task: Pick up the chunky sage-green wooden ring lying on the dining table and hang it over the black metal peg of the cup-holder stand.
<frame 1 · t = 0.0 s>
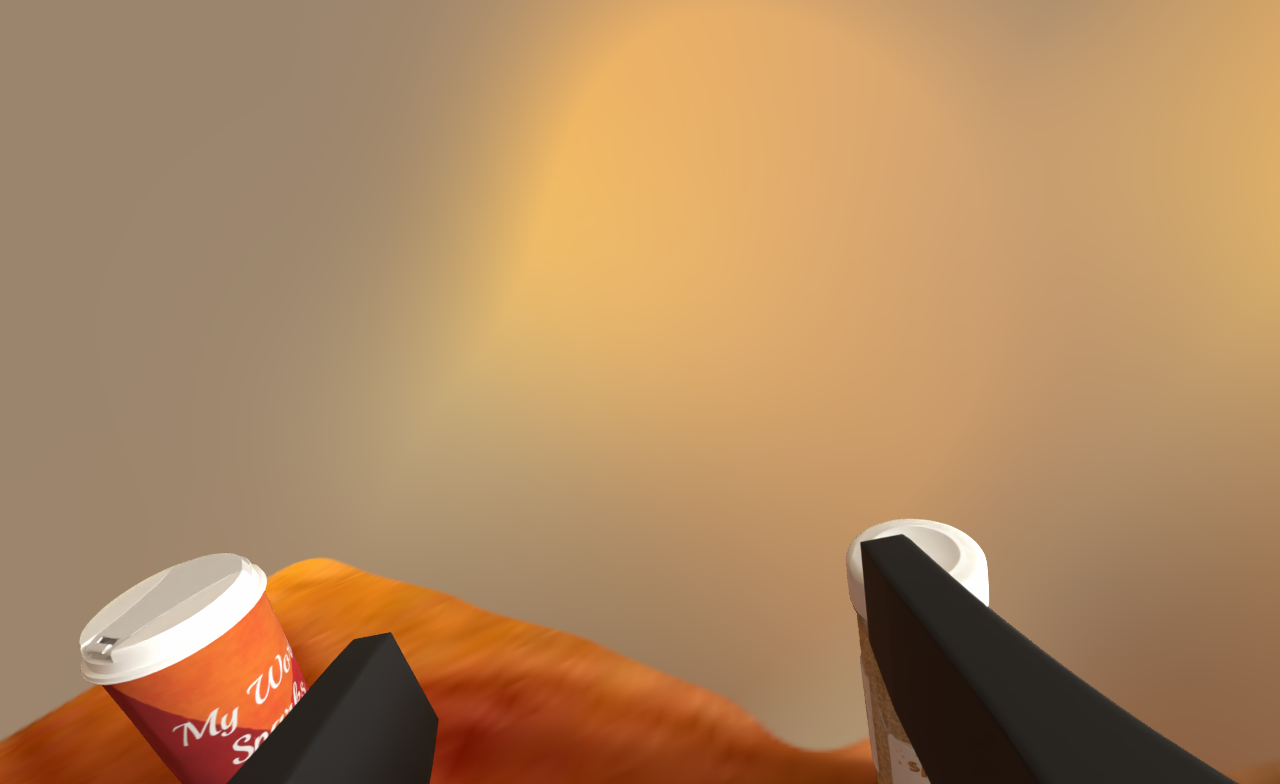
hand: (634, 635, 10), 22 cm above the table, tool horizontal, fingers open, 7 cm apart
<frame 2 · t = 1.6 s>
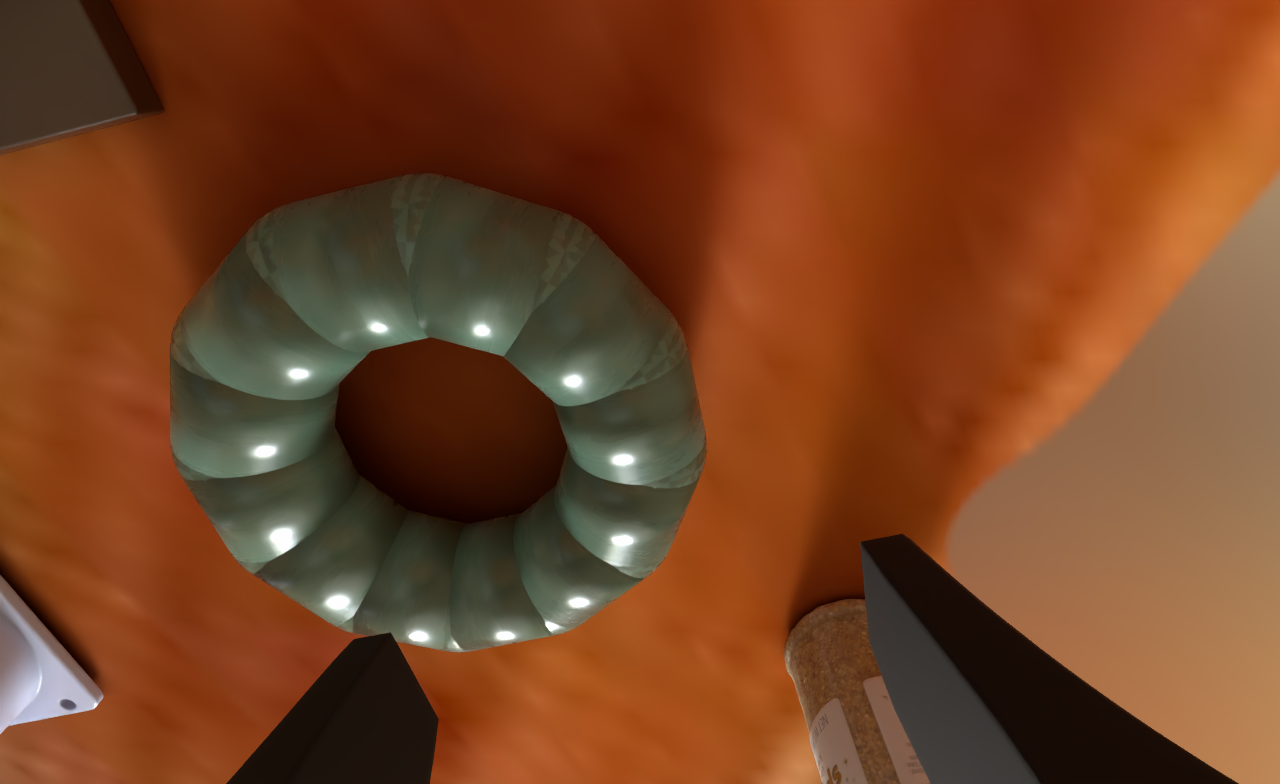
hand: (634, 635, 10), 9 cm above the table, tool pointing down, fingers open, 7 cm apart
sprinkles bottle: (843, 636, 23), on the table
ring: (450, 442, 17), point 2 cm above the table
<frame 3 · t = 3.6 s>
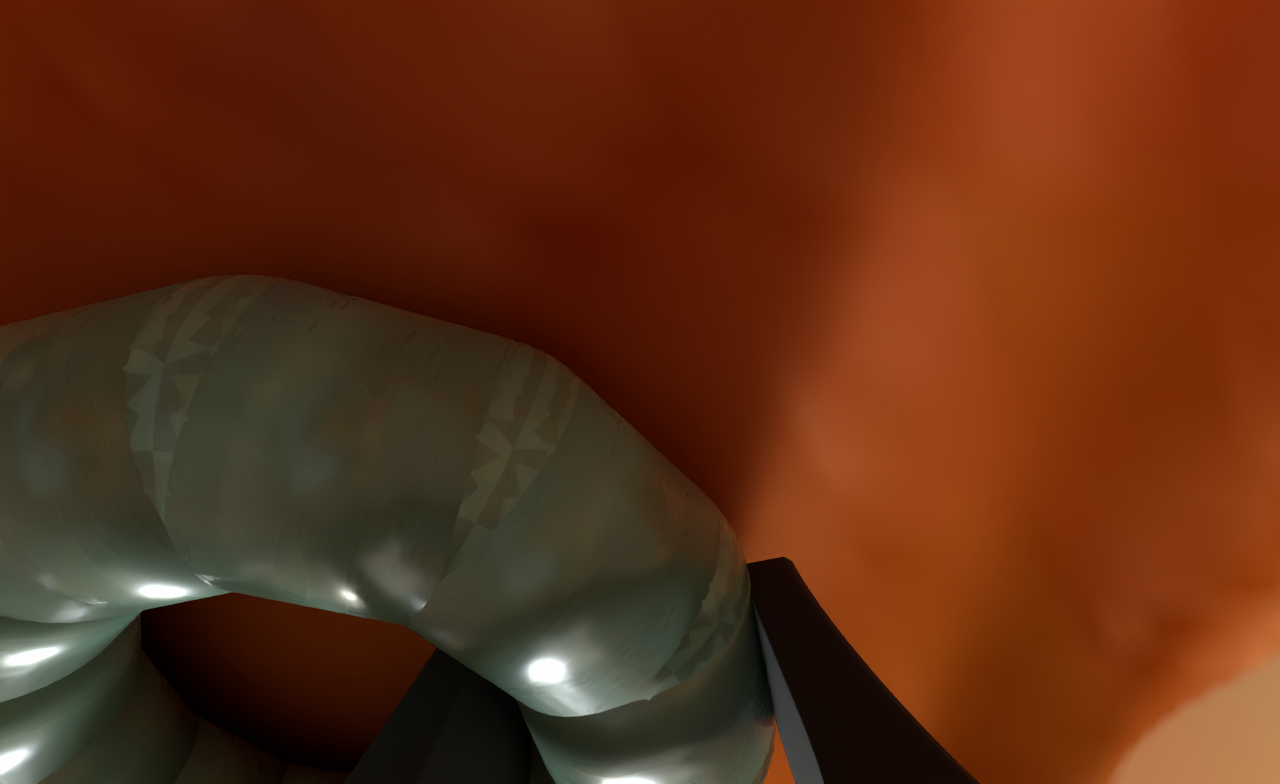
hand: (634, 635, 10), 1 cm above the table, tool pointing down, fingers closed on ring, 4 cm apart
ring: (331, 713, 10), point 2 cm above the table, touching gripper
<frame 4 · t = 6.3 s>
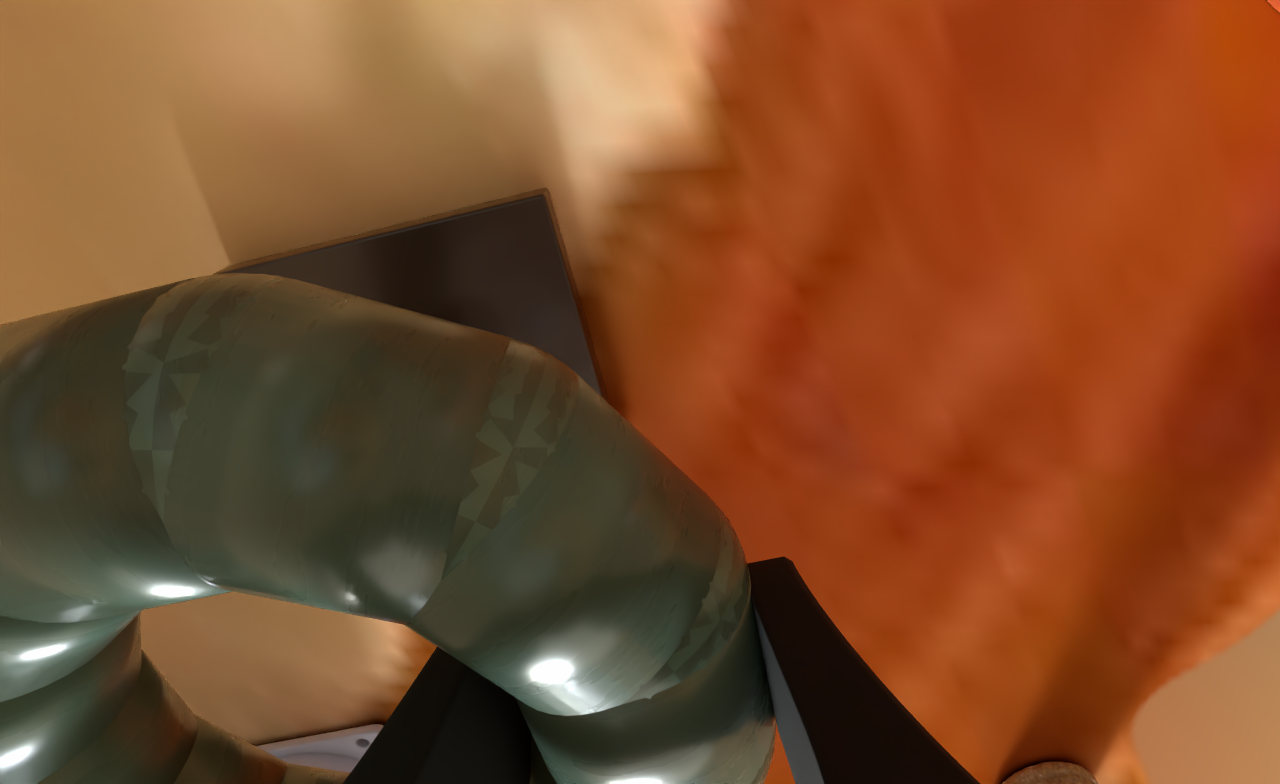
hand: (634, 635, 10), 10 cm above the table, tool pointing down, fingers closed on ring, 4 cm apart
holder: (445, 375, 19), on the table
ring: (331, 712, 10), point 11 cm above the table, touching gripper
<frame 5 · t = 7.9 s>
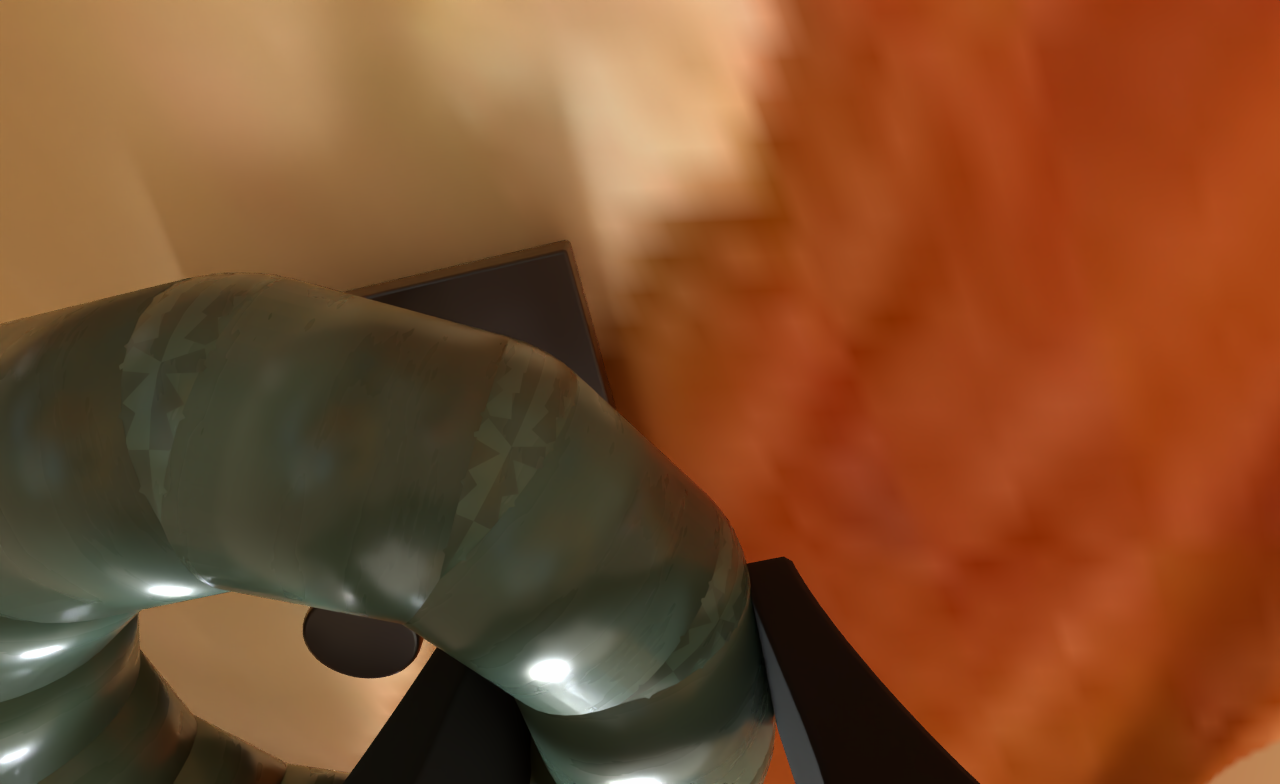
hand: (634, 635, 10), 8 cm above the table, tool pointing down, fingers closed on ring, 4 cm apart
holder: (449, 444, 17), on the table
ring: (330, 713, 10), point 8 cm above the table, touching gripper
when the fingers open (5 cm above the table, at t = 9.1 s): ring drops 3 cm, resting on holder.
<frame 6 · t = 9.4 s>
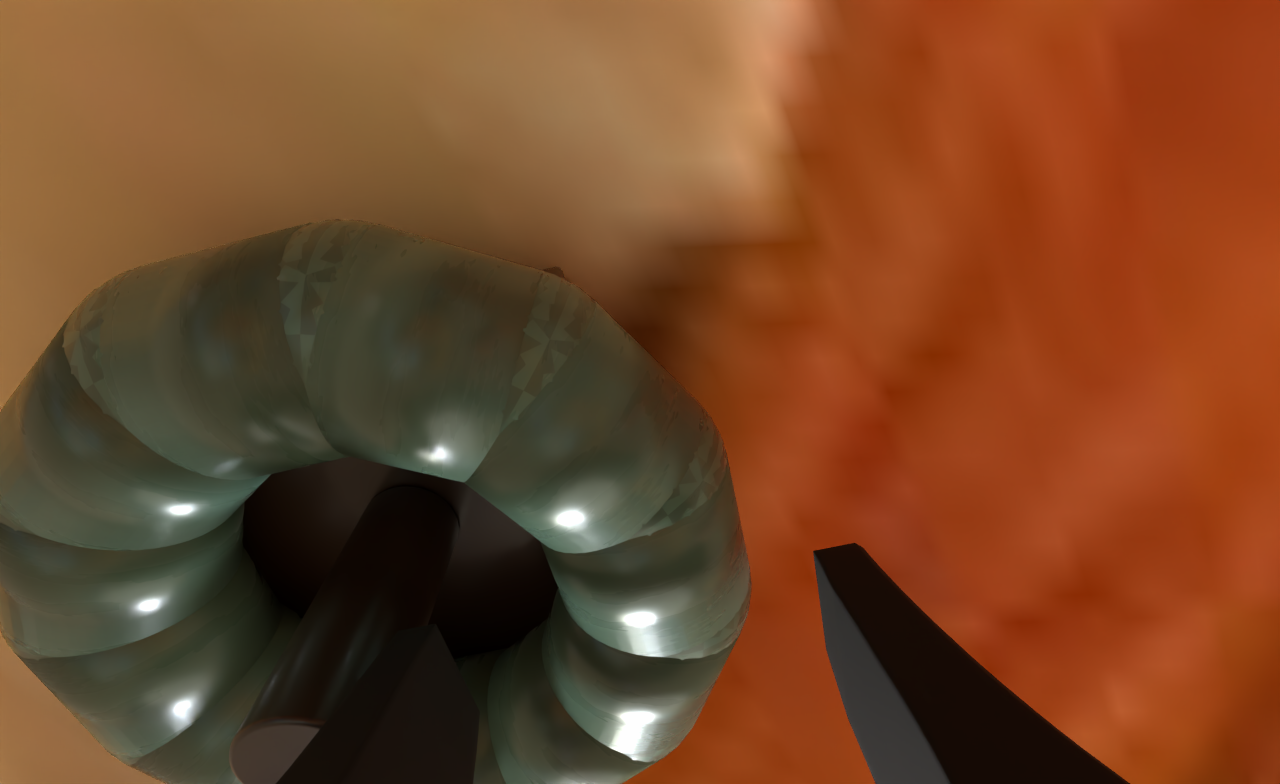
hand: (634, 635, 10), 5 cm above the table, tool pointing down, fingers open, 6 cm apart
holder: (425, 495, 15), on the table
ring: (397, 580, 12), point 3 cm above the table, touching holder
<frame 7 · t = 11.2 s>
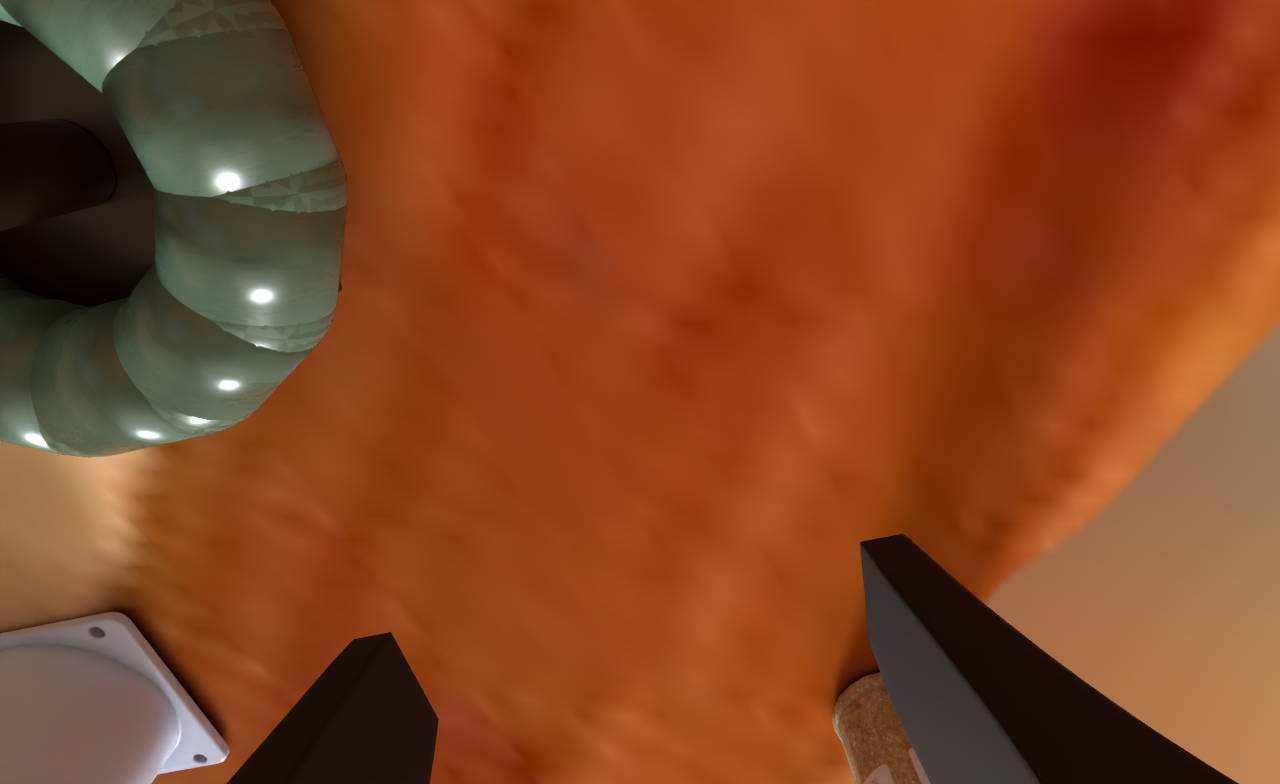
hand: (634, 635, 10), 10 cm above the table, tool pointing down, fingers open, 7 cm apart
holder: (101, 159, 16), on the table
sprinkles bottle: (883, 699, 26), on the table
ring: (18, 173, 14), point 3 cm above the table, touching holder
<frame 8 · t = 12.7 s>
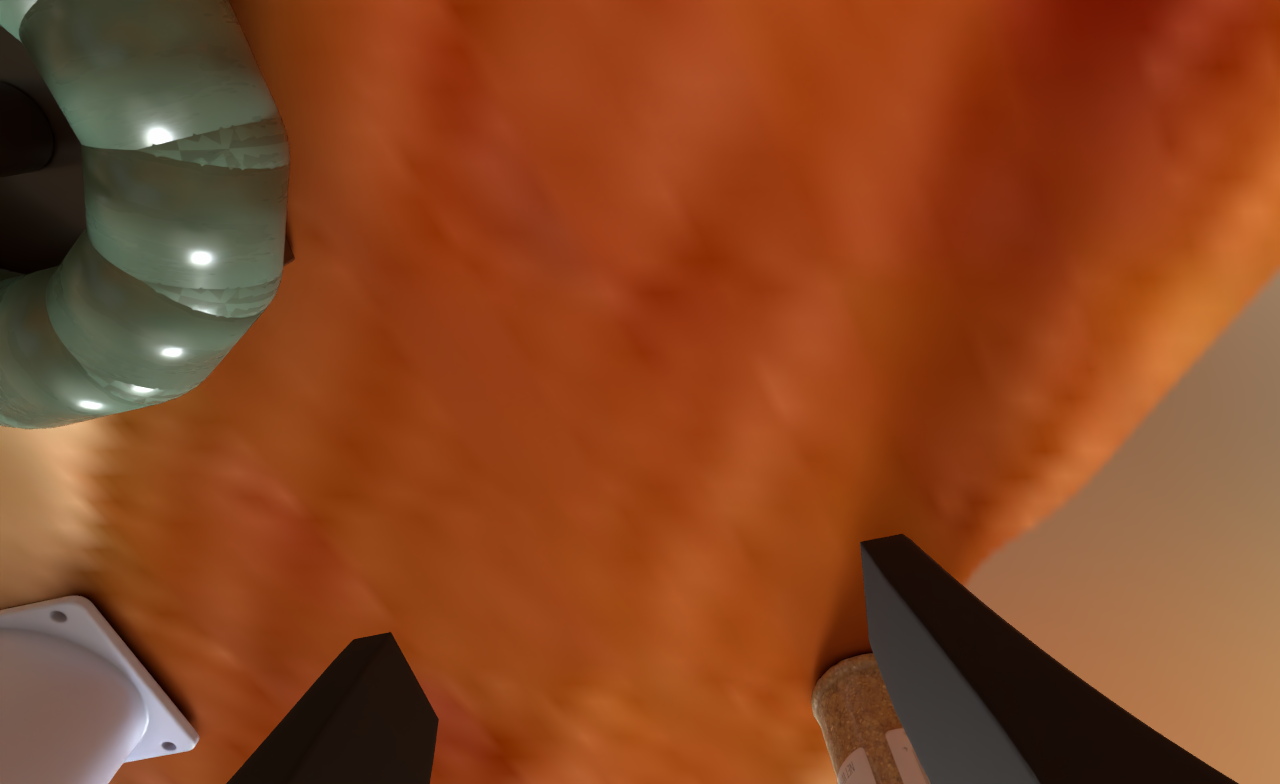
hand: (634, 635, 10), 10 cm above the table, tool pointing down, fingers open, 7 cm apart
holder: (42, 124, 16), on the table
sprinkles bottle: (864, 684, 26), on the table
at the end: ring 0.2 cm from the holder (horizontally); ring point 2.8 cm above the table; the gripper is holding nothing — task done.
